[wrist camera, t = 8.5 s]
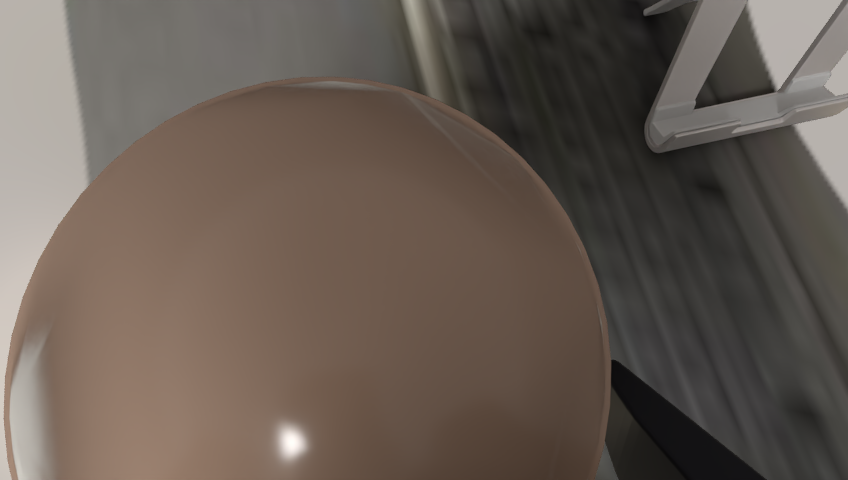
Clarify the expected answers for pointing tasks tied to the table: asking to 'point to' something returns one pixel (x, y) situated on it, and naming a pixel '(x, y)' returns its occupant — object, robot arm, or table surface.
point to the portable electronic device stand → (789, 105)
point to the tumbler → (311, 304)
